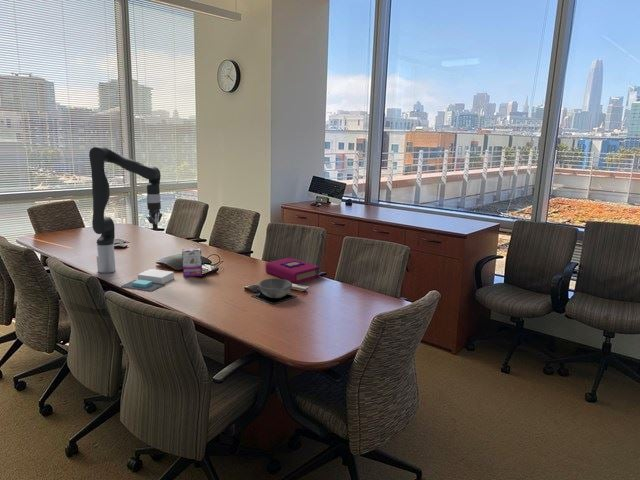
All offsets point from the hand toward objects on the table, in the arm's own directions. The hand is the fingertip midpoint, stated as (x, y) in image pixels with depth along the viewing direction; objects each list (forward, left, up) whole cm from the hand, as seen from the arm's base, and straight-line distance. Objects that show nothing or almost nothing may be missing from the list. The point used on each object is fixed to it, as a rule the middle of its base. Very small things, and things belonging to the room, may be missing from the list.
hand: (155, 230), depth 285 cm
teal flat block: (+7, -24, -24) cm, 35 cm away
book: (+78, +29, -28) cm, 87 cm away
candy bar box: (+22, +4, -27) cm, 35 cm away
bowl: (+82, -11, -27) cm, 87 cm away
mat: (+7, -23, -27) cm, 36 cm away
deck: (+7, -11, -27) cm, 30 cm away
